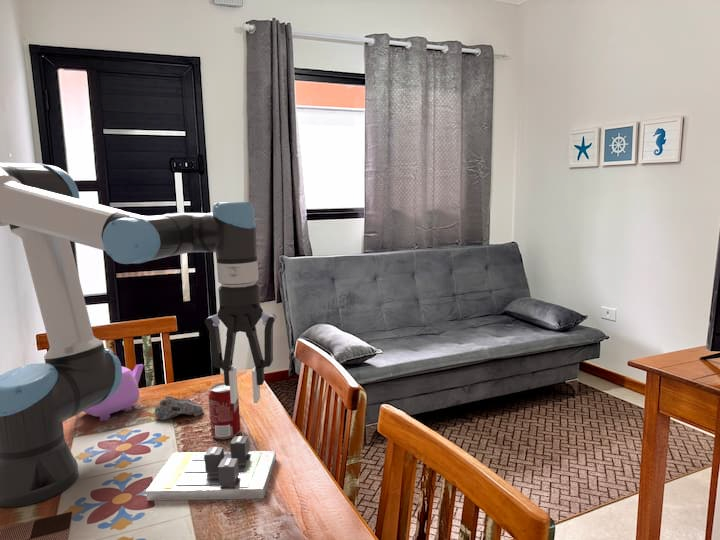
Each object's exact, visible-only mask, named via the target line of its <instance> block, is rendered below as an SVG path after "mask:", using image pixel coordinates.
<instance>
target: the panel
mask: <svg viewBox="0 0 720 540" xmlns="http://www.w3.org/2000/svg"><path fill="white" fill-rule="evenodd" d="M205 453H206V451H205V452H203V451H202V452H200V451H199V452H173V453H172V455H171V456H170V457H169V459H168V460H167V462H165V465H164V466H163V467H162V468H161V469H160V471H159V473H157V476H155V478H154V480H153V481H152V482H151V483H150V485H149V486H148V488H147V489H146V491H145V492H146V501H149V502H151V501H159V502H160V501H196V500H197V501H201V500H203V501H204V500H206V501H207V500H259V499H260V500H261V499H265V495H266V492H267V489H268V486H269V482H270V480H271V477H272V473H273V470H274V468H275V464H276V461H277V454H276V453H277V451H276V450H262V451H261V450H253V451H252V450H251V451H250V450H249V453H248V455H247V457H246V459H238V471H239V476H238V478H237V480H236V483H235V484H219V474H218V471H207V472H205V459H204V455H205ZM227 458H231V451H224V459H227Z"/></svg>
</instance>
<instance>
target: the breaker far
mask: <svg viewBox="0 0 720 540" xmlns="http://www.w3.org/2000/svg"><path fill="white" fill-rule="evenodd" d="M231 439H232V440H231V441H230V443H229V444H230V445H229V446H230V452H231V458H238V459H246V457H247V455H248V453H249V451H250V447H249V436H247V435H239V436H237V435H236V436H234V437H232V438H231Z"/></svg>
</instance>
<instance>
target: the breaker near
mask: <svg viewBox="0 0 720 540" xmlns="http://www.w3.org/2000/svg"><path fill="white" fill-rule="evenodd" d="M218 474H219V484H235V483H236V480H237V478H238V476H239V471H238V458H227V459H222V460H221V462H220V464H219V466H218Z"/></svg>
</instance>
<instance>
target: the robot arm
mask: <svg viewBox="0 0 720 540" xmlns="http://www.w3.org/2000/svg"><path fill="white" fill-rule="evenodd" d="M254 207H255V206H254V205H253V204H252V203H251V202H249V201H221V202H220V201H219V202H215V203H214V204H213V205H212V211H211V212H207V213H206V212H172V213H171V212H170V213H165V214H158V215H157V214H156V215H141V214H138V213H134V212H130V211H125V210H122V209H119V208H114V207H111V206H107V205H103V204H101V203H100V204H99V203H95V202H92V201H91V202H90V201H87V200H84V199H80V192H79V189H78V185H77V184H76V182H75V180H74V179H73V178H72V177H71V175H70V174H69V173H68V172H66V171H65V170H63V169H61V168H60V167H58V166H55V165H50V164H44V163H27V162H26V163H25V162H24V163H23V162H22V163H21V162H19V163H17V162H0V227H5V226H9V229H10V233H12V234H14V235H16V236H18V237H19V238H20V240H21V241H22V244H23V245H22V246H23V249H24V253H25V256H26V261H27V264H28V268H29V269H28V270H29V271H30V276H31V279H32V284H33V288H34V291H35V294H36V298H37V302H38V306H39V307H38V308H39V310H40V315H41V318H42V319H41V320H42V322H43V326H44V330H45V334H46V337H47V341H48V345H49V349H48V350H47V351H46V353H45V354H44V356H43V359H44V362H45V363H43V362H42V363H39V362H38V363H31V364H27V365H25V366H23V367H22V366H19V367H16V368H13V369H11V370H8V371H6V372H4V373H2V374H1V375H0V508H1V507H2V508H18V507H25V506H29V505H33V504H37V503H40V502H43V501H45V500H48V499H50V498H53V497H55V496H57V495H59V494H60V493H63V492H64V491H65V490H67V489H68V488H70V487H71V486H72V485H73V484H74V483H75V482H76V481H77V479H78V478H79V475H80V473H79V465H78V462H77V459H75V457H74V455H73V453H72V451H71V449H70V448H69V447H70V446H69V445H68V443H67V442H66V439H65V433H64V422H65V421H67V420H69V419H71V418H73V417H75V416H77V415H79V414H81V413H83V412H84V411H85V410H87V409H89V408H91V407H92V406H96V405H98V404H100V403H102V402H103V401H104V400H106V399H107V398H109V397H110V396H112V395H113V394H114V393H115V392H116V391H117V389H118V387H119V386H120V383H121V380H122V367H121V366H122V364H121V361H120V359H119V357H118V355H115V352H114V351H113V350H111V349H109V348H107V347H105V345H104V341H102V340H101V339H99V338H97V337H96V336H95V335H94V332H93V328H92V324H91V321H90V315H89V313H88V309H87V308H88V307H87V303H86V300H85V297H84V292H83V288H82V284H81V280H80V275H79V272H78V269H77V264H76V259H75V255H74V253H73V252H74V251H73V248H72V244H71V242H73V243H77V244H80V245H84V246H86V247H90V248H94V249H97V250H101V251H105V253H106V254H107V256H110V258H111V259H112V260H113V261H114V262H116V263H118V264H122V265H123V264H124V265H129V264H135V265H137V264H144V263H147V262H150V261H154V260H155V261H156V260H159V259H162V258H163V259H164V258H167V257H173V256H179V255H184V254H189V253H215V258H216V271H217V272H216V273H217V282H218V284H220V285H219V286H218V289H217V290H218V302H219V303H218V304H219V309H218V311H217V313H216V314H213V315H209V316H208V317H207V318H205V320H204V324H205V325H206V328H207V330H208V334H209V341H210V343H209V344H210V349H211V351H210V352H211V358H212V365H213V368H215V369H221V370H222V371H223V379H224V382H223V383H225V385H226V386H230V398H231V404H233V403H235V402H236V400H237V399H239V391H238V377H237V375H238V374H237V366H233V364H234V362H233V360H234V353H235V346H236V345H235V344H236V340H237V339H236V337H237V333H240V332H242V333H245V335H246V338H247V340H248V344H249V348H250V352H251V356H252V358H253V364H254V367H253V368H252V370H251V382H252V397H253V404H258V403H259V401H260V399H261V388H260V387H261V386H263V384H264V382H265V368H266V367H267V368H269V367H270V366H272V363H273V361H274V324H275V321H276V319H277V315H276V314H273V313H272V314H269V313H266V312H264V310H263V308H262V306H261V300H260V299H261V298H260V285H259V284H258V283H257V282H258V281H259V266H258V256H257V231H256V229H257V223H256V218H255V217H256V216H255V209H254ZM260 320H262V325H263V326H264V332H263V333H264V339H263V341H264V344H263V345H264V351H263V352H264V356H263V353H262V350H261V345H260V342H259V338H258V334H257V324H258V323H259V321H260ZM220 321H221V322H222V324H223V325H224V326H225V327H226V333H225V334H226V339H225V346H224V347H225V348H224V354H223V350H222V343H221V334H220V328H219V325H220ZM223 355H224V356H223ZM263 357H264V358H263Z"/></svg>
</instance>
